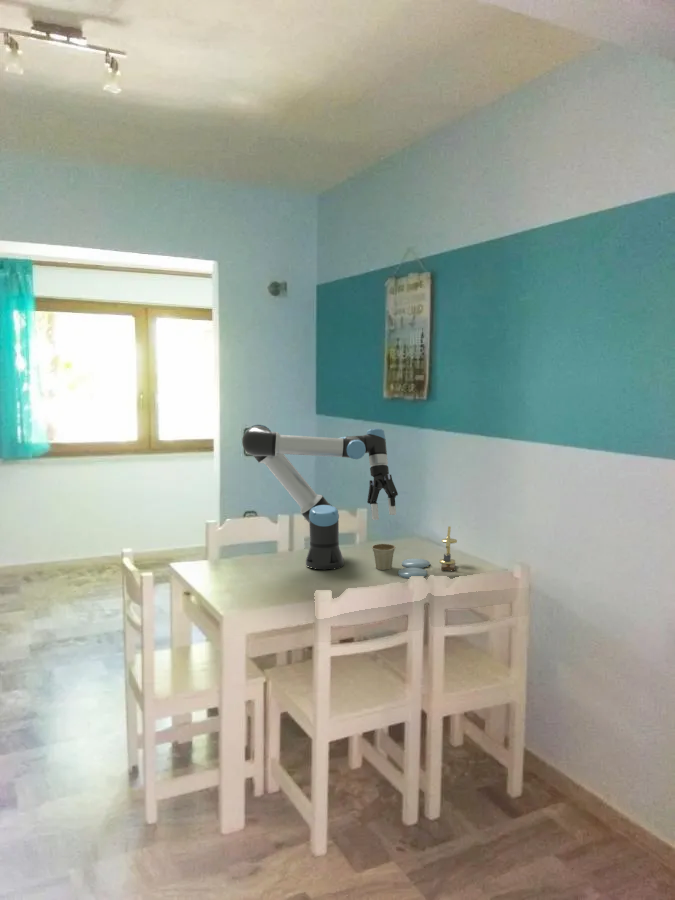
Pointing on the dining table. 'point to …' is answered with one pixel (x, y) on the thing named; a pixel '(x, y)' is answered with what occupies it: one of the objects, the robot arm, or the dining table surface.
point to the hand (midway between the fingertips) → (384, 517)
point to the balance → (448, 553)
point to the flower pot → (383, 555)
